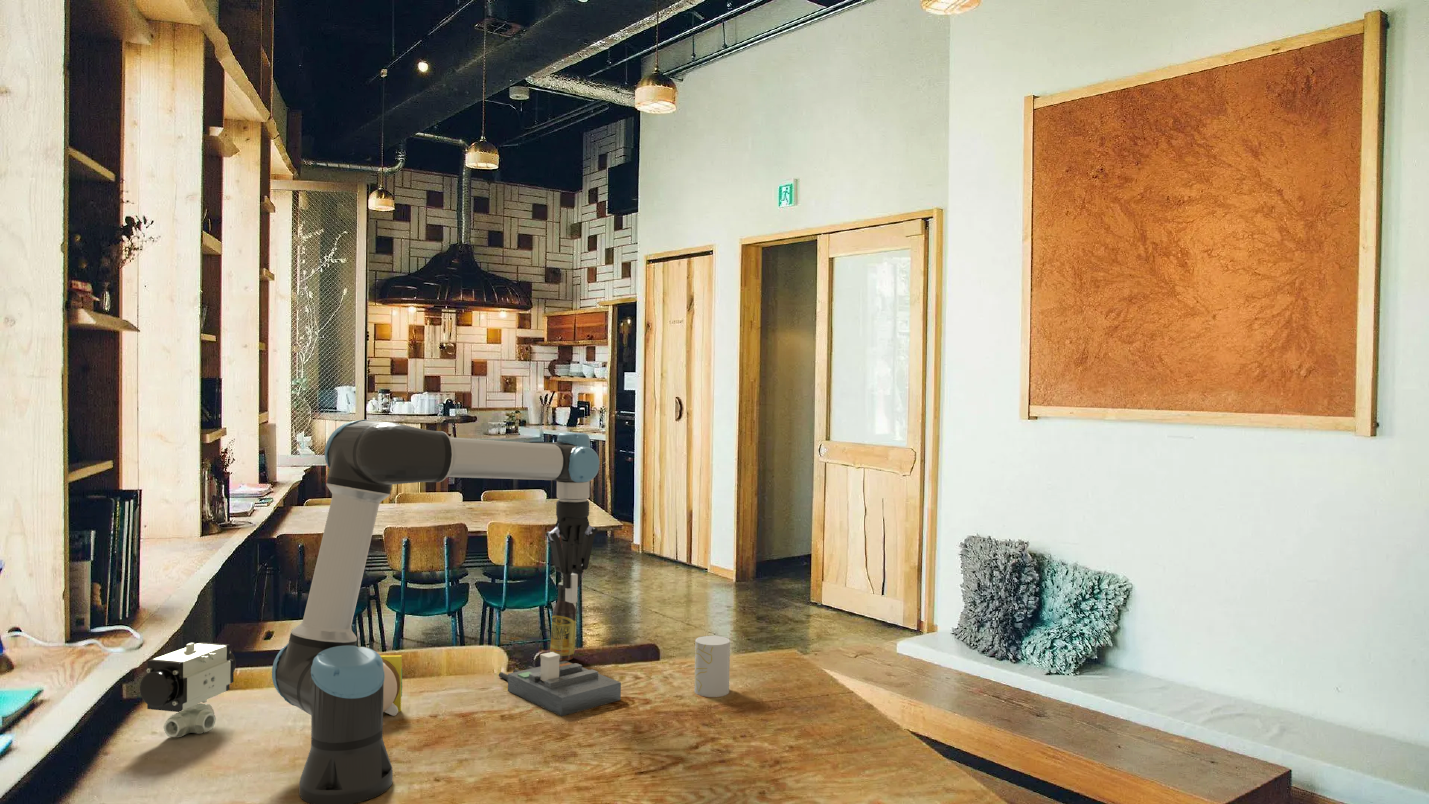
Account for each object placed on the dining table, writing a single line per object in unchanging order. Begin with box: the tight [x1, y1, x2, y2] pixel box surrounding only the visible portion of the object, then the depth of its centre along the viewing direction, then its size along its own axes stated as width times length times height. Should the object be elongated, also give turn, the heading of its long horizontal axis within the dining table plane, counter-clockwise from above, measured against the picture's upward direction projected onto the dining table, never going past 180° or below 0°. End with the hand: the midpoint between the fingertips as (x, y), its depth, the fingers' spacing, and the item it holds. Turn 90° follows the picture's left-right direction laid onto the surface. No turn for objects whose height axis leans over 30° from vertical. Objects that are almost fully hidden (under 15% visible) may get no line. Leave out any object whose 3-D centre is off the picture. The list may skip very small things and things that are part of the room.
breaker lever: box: [539, 651, 560, 682], centre depth 207 cm, size 3×3×6 cm
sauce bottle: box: [549, 581, 577, 662], centre depth 238 cm, size 7×6×20 cm
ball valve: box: [139, 641, 237, 738], centre depth 184 cm, size 18×8×18 cm, turn 168°
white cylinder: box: [694, 635, 731, 698], centre depth 215 cm, size 8×8×12 cm
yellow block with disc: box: [380, 654, 403, 717], centre depth 196 cm, size 12×8×12 cm
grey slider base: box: [498, 660, 622, 717], centre depth 213 cm, size 32×16×5 cm, turn 43°
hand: (571, 601), depth 211 cm, fingers closed
